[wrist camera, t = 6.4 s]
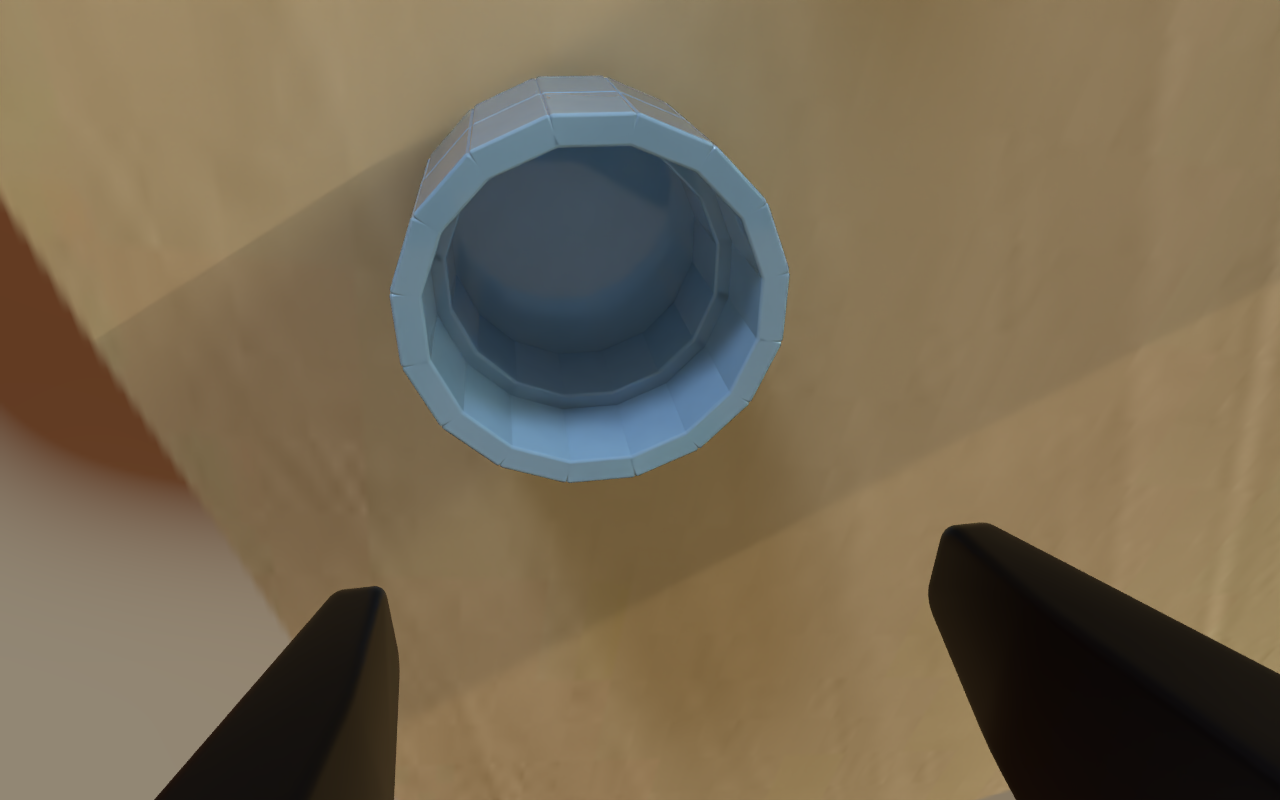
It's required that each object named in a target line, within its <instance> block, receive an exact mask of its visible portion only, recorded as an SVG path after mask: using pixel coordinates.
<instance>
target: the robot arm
mask: <svg viewBox="0 0 1280 800" xmlns="http://www.w3.org/2000/svg"><path fill="white" fill-rule="evenodd" d="M928 597H929V604H930V608H931V611H932V614H933V617H934V619H935V621H936V624H937V626H938V629H939V631H940V633H941V636H942V638H943V641H944V643H945V645H946V648H947V650H948V653H949V655H950V657H951V660H952V662H953V665H954V667H955V669H956V672H957V674H958V677H959V679H960V681H961V684H962V686H963V689H964V691H965V693H966V696H967V698H968V700H969V703H970V705H971V708H972V710H973V712H974V715H975V717H976V720H977V722H978V724H979V727H980V729H981V731H982V734H983V736H984V738H985V740H986V742H987V745H988V747H989V749H990V751H991V753H992V755H993V757H994V759H995V761H996V763H997V765H998V767H999V769H1000V771H1001V773H1002V775H1003V777H1004V778H1005V780H1006V782H1007V784H1008V786H1009V788H1010V790H1011V791H1012V793H1013V795H1014V797H1015V799H1016V800H1280V674H1278V673H1276V672H1275V671H1273V670H1271V669H1269V668H1267V667H1265V666H1263V665H1261V664H1259V663H1257V662H1255V661H1253V660H1251V659H1250V658H1248V657H1246V656H1244V655H1242V654H1240V653H1238V652H1236V651H1234V650H1232V649H1230V648H1228V647H1226V646H1225V645H1223V644H1221V643H1219V642H1217V641H1215V640H1213V639H1211V638H1209V637H1207V636H1205V635H1203V634H1201V633H1200V632H1198V631H1196V630H1194V629H1192V628H1190V627H1188V626H1186V625H1184V624H1182V623H1180V622H1178V621H1176V620H1175V619H1173V618H1171V617H1169V616H1167V615H1165V614H1163V613H1161V612H1159V611H1157V610H1155V609H1153V608H1152V607H1150V606H1148V605H1146V604H1144V603H1142V602H1140V601H1138V600H1136V599H1134V598H1132V597H1130V596H1128V595H1127V594H1125V593H1123V592H1121V591H1119V590H1117V589H1115V588H1113V587H1111V586H1109V585H1107V584H1105V583H1103V582H1102V581H1100V580H1098V579H1096V578H1094V577H1092V576H1090V575H1088V574H1086V573H1084V572H1082V571H1080V570H1078V569H1077V568H1075V567H1073V566H1071V565H1069V564H1067V563H1065V562H1063V561H1061V560H1059V559H1057V558H1055V557H1053V556H1052V555H1050V554H1048V553H1046V552H1044V551H1042V550H1040V549H1038V548H1036V547H1034V546H1032V545H1030V544H1028V543H1027V542H1025V541H1023V540H1021V539H1019V538H1017V537H1015V536H1013V535H1011V534H1009V533H1007V532H1005V531H1003V530H1002V529H1000V528H998V527H996V526H994V525H992V524H989V523H971V524H962V525H953V526H951V527H948V528H947V529H946V530H945V531H944V532H943V534H942V536H941V539H940V543H939V547H938V551H937V555H936V559H935V563H934V567H933V571H932V575H931V579H930V583H929V589H928ZM398 696H399V655H398V648H397V643H396V638H395V633H394V628H393V624H392V619H391V614H390V609H389V604H388V599H387V595H386V593H385V591H384V590H383V589H382V588H380V587H378V586H372V587H363V588H353V589H344V590H340V591H337V592H336V593H334V594H333V595H331V596H330V597H329V599H328V600H327V601H326V602H325V603H324V604H323V606H322V607H321V608H320V609H319V610H318V611H317V612H316V614H315V615H314V616H313V617H312V618H311V619H310V621H309V622H308V623H307V624H306V625H305V626H304V627H303V629H302V630H301V631H300V632H299V633H298V634H297V636H296V637H295V638H294V639H293V640H292V641H291V642H290V644H289V645H288V646H287V647H286V648H285V649H284V651H283V652H282V653H281V654H280V655H279V656H278V657H277V659H276V660H275V661H274V662H273V663H272V664H271V666H270V667H269V668H268V669H267V670H266V671H265V672H264V674H263V675H262V676H261V677H260V679H258V681H257V682H256V683H255V684H254V685H253V686H252V687H251V689H250V690H249V691H248V692H247V693H246V694H245V696H244V697H243V698H242V699H241V700H240V702H238V704H237V705H236V706H235V707H234V708H233V709H232V711H231V712H230V713H229V714H228V715H227V717H226V718H225V719H224V720H223V721H222V722H221V723H220V725H219V726H218V727H217V728H216V729H215V730H214V731H213V733H212V734H211V735H210V736H209V737H208V738H207V739H206V741H205V742H204V743H203V744H202V745H201V746H200V748H199V749H198V750H197V751H196V752H195V753H194V754H193V756H192V757H191V758H190V759H189V760H188V761H187V763H186V764H185V765H184V766H183V767H182V768H181V770H180V771H179V772H178V773H177V774H176V775H175V776H174V778H173V779H172V780H171V781H170V782H169V783H168V785H167V786H166V787H165V788H164V789H163V790H162V791H161V793H160V794H159V795H158V796H157V797H156V798H155V799H154V800H394V786H395V764H396V741H397V719H398Z"/></svg>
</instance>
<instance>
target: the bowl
mask: <svg viewBox="0 0 1280 800" xmlns="http://www.w3.org/2000/svg"><path fill="white" fill-rule="evenodd" d="M789 276H790V274H789V267H788V263H787V260H786V257H785V254H784V251H783V248H782V245H781V241H780V238H779V235H778V232H777V229H776V226H775V223H774V220H773V216H772V213H771V210H770V207H769V205H768V203H767V202H766V199H765V198H764V197H763V196H762V195H761V194H760V192H759V191H758V190H757V189H756V188H755V187H754V186H753V185H752V184H751V183H750V182H749V180H748V179H747V178H746V177H745V176H744V175H743V174H742V173H741V172H740V171H739V170H738V168H737V167H736V166H735V165H734V164H733V163H732V162H731V161H730V160H729V159H728V158H727V156H726V155H725V154H724V153H723V152H722V151H721V150H720V149H719V148H718V147H717V146H716V145H715V144H714V143H713V142H712V141H710V140H709V139H708V138H707V137H706V136H705V135H703V134H702V133H701V132H700V131H699V130H698V129H696V128H695V127H694V126H693V125H692V124H690V123H689V122H688V121H687V120H686V119H685V118H684V117H683V116H681V115H680V114H679V113H678V112H677V111H676V110H674V109H673V108H672V107H671V106H670V105H669V104H667V103H665V102H664V101H662V100H660V99H657V98H655V97H653V96H650V95H648V94H646V93H643V92H641V91H639V90H636V89H634V88H632V87H629V86H627V85H625V84H623V83H620V82H618V81H616V80H613V79H611V78H604V77H603V76H553V77H537V78H536V79H530V80H528V81H526V82H524V83H521V84H519V85H517V86H515V87H513V88H511V89H509V90H506V91H504V92H502V93H500V94H498V95H496V96H494V97H492V98H489V99H487V100H485V101H483V102H481V103H479V104H477V105H475V107H474V109H471V110H469V111H468V112H467V113H466V115H465V116H464V117H463V118H462V119H461V120H460V122H459V123H458V124H457V125H456V126H455V127H454V129H453V130H452V131H451V132H450V133H449V134H448V136H447V137H446V138H445V139H444V140H443V141H442V143H441V144H440V145H439V146H438V147H437V149H436V150H435V151H434V152H433V153H432V154H431V157H430V159H428V161H427V164H426V167H425V171H424V174H423V178H422V181H421V184H420V188H419V191H418V194H417V198H416V201H415V204H414V208H413V211H412V214H411V218H410V221H409V225H408V228H407V232H406V235H405V239H404V242H403V246H402V249H401V252H400V256H399V259H398V263H397V266H396V270H395V273H394V277H393V280H392V284H391V287H390V292H391V293H390V296H389V297H390V303H391V309H392V315H393V321H394V328H395V334H396V340H397V346H398V353H399V359H400V364H401V366H403V367H402V368H403V371H404V372H405V374H406V375H407V377H408V378H409V380H410V381H411V383H412V384H413V386H414V387H415V389H416V390H417V392H418V393H419V395H420V396H421V398H422V399H423V401H424V402H425V404H426V406H427V407H428V409H429V410H430V412H431V413H432V415H433V416H434V418H435V419H436V421H437V422H438V424H439V425H440V426H442V427H443V429H444V430H446V431H447V432H449V433H450V434H452V435H453V436H455V437H456V438H458V439H459V440H461V441H462V442H464V443H465V444H467V445H468V446H469V447H471V448H472V449H474V450H475V451H477V452H478V453H480V454H481V455H483V456H484V457H486V458H487V459H489V460H490V461H492V462H493V463H495V464H496V465H500V466H501V467H503V468H507V469H511V470H515V471H519V472H523V473H527V474H532V475H536V476H540V477H544V478H548V479H552V480H556V481H560V482H566V481H567V482H568V483H574V482H585V481H596V480H608V479H619V478H630V477H635V475H636V476H639V475H641V474H643V473H646V472H648V471H650V470H653V469H655V468H657V467H660V466H662V465H664V464H666V463H669V462H671V461H673V460H676V459H678V458H680V457H683V456H685V455H687V454H690V453H692V452H694V451H696V450H697V449H698V448H701V447H702V446H703V445H704V444H706V443H707V442H708V441H709V440H710V439H711V438H712V437H713V436H714V435H715V434H717V433H718V432H719V431H720V430H721V429H722V428H723V427H724V426H725V425H727V424H728V423H729V422H730V421H731V420H732V419H733V418H734V417H735V416H736V415H738V414H739V413H740V412H741V411H742V410H743V409H744V408H745V407H746V406H748V404H749V402H750V401H751V400H752V399H753V397H754V395H755V393H756V391H757V389H758V387H759V385H760V384H761V382H762V380H763V378H764V376H765V374H766V372H767V370H768V368H769V367H770V365H771V363H772V361H773V359H774V357H775V355H776V353H777V351H778V350H779V348H780V346H781V341H782V340H783V332H784V323H785V314H786V304H787V295H788V285H789Z"/></svg>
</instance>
